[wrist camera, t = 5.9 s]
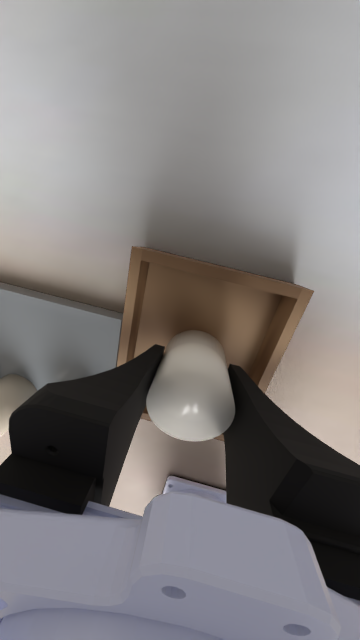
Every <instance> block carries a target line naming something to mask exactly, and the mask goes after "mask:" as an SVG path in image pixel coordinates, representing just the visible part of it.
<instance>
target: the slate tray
mask: <svg viewBox="0 0 360 640" xmlns="http://www.w3.org/2000/svg"><path fill="white" fill-rule="evenodd" d="M122 321H123V313H119V312H115V311H111V310H107V309H103V308H100V307H96V306H92V305H88V304H84V303H80V302H76V301H72V300H68V299H65V298H61V297H57V296H53V295H49V294H45V293H41V292H37V291H34V290H30V289H26V288H22V287H18V286H14V285H10V284H6V283H3V282H0V378H2V377H4V376H5V375H8V374H16V375H19V376H22V377H24V378H26V379H27V380H29V381H30V382H31V383H32V384H33V385H34V386H35V388H36V390H37V391H38V390H39V389H41V388H42V387H43V386H45V385H46V384H47V383H54V382H61V381H68V380H74V379H79V378H83V377H88V376H91V375H95V374H98V373H101V372H105V371H108V370H111V369H113V368H116V367H117V360H118V352H119V344H120V336H121V329H122Z"/></svg>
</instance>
